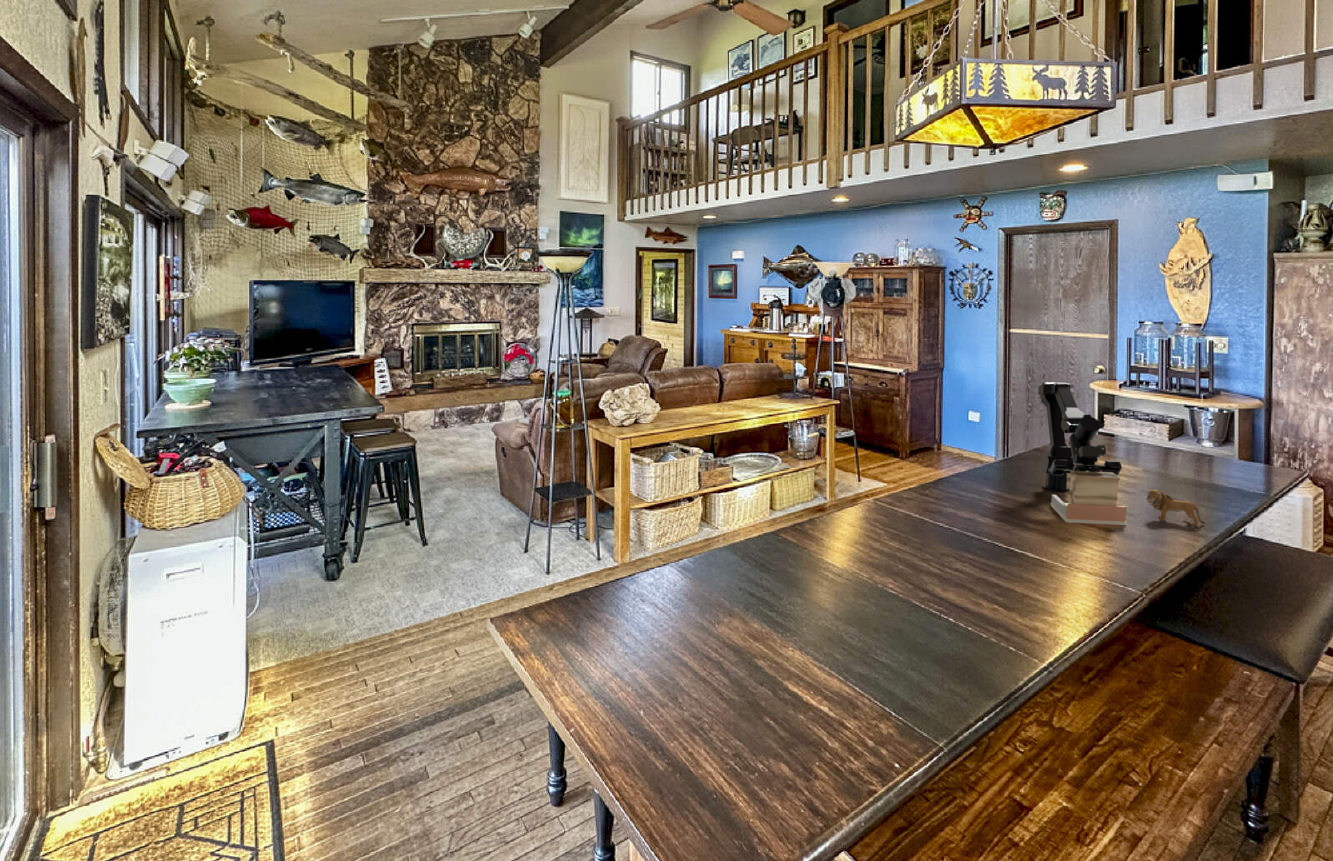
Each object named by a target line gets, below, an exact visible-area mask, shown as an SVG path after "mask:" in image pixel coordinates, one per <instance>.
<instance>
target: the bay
mask: <svg viewBox="0 0 1333 861" xmlns="http://www.w3.org/2000/svg"><path fill="white" fill-rule="evenodd" d="M1050 506H1051V507H1052V508H1053V510H1054V511H1055V512H1056V513H1057V514H1058V515H1059V516H1060V517H1061V518H1062V519H1063V520H1064V522H1065V523H1070V524H1071V523H1072V524H1074V523H1075V524H1076V523H1077V524H1094V525H1095V524H1097V525H1113V526H1115V525H1116V526H1127V524H1128V523H1127V521H1126V518H1127V505H1116V506H1109V505H1085V504H1069V502H1064V501H1063V500H1062V499H1061V498H1060V497H1059V496H1058V495H1057V494H1051V502H1050Z"/></svg>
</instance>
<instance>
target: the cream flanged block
mask: <svg viewBox="0 0 1333 861" xmlns="http://www.w3.org/2000/svg"><path fill="white" fill-rule="evenodd" d="M1069 474H1070V487H1069V489H1070V490H1069V491H1068V492H1069V497H1068V498H1069V500H1068V503H1069V504H1085V505H1109V506H1118V505H1117V502H1118V499H1119V498H1118V493H1119V482H1120V479H1121V477H1119V475H1118V476H1117V475H1115V474H1114V473H1113V472H1087V471H1086V472H1082V471H1071V473H1069Z"/></svg>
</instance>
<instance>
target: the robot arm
mask: <svg viewBox="0 0 1333 861" xmlns="http://www.w3.org/2000/svg"><path fill="white" fill-rule="evenodd" d="M1037 394H1038V395H1039V397H1040V402H1041V403H1042V404H1043V405H1044V406H1045V408H1046V415H1047V424H1048V434H1049V443H1050V445H1049V448H1048V450H1047V452H1046V454H1045V458H1044V460H1043V461H1042V463H1041V472H1044V473H1045V474H1046V476H1045V477H1046V478H1045V484H1044V485H1043V484H1042V485H1041V487H1042V488H1043V489H1046V490H1049V491H1052V492H1062V491H1064V492H1065V491H1070V487H1067V486H1068V474H1070V473H1071V471H1082V472H1113V473H1114V474H1115V475H1117V476H1118V477H1119V474H1120V472H1121V470H1122V469H1123V467H1122V463H1121V462H1120V461H1119V460H1105V461H1104V463H1103V464H1096V463H1097V462H1098V461H1099V460H1098V458H1099V457H1100V456H1103V457H1104V456H1105V455H1106V454H1107V449H1106V445H1105V444H1097V445H1092V443H1091V441H1093V440H1094V438H1096V436H1097V434H1098V433H1099V430H1100V428H1102V427H1101V426H1102V425H1101V422H1100V421H1099V420H1098V419H1097V418H1096V417H1093V416H1092V414H1086V413H1085V412H1083V410H1080V409H1079V408H1078V407H1079V406H1078V404H1077V403H1076V400H1075V398H1074V395H1073V393H1072V391H1071V384H1070V382H1062V381H1059V382H1058V381H1057V382H1056V381H1055V382H1054V381H1053V382H1052V381H1048V382H1044V381H1043V382H1042V383H1041V385H1039V386H1038V389H1037ZM1065 434H1071V435H1070V436H1069V438H1068V439H1069V441H1068V445H1070V446H1068V445H1067V442H1066V435H1065Z"/></svg>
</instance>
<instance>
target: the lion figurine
mask: <svg viewBox="0 0 1333 861" xmlns="http://www.w3.org/2000/svg"><path fill="white" fill-rule="evenodd" d="M1146 501H1147V503H1148V504H1149V505H1150V506H1153V508H1154V510H1157V511H1160V515H1159V516H1158V520H1159V521H1161V522H1164V521H1166V519H1167V518H1166V515H1167V513H1168V512H1171V513H1182V512H1184V513H1185V514H1186V516H1187V518H1184V519H1183V522H1186V523H1187V522H1188V523H1189V521H1190V520H1192V521H1193V522H1192V523H1191V525H1192V526H1193V527H1197V526H1198V525H1199V523H1201V524H1202V525H1205V524H1206V522H1205V521H1204V520H1202V519H1201V515H1200V511H1199V508H1198V507H1197V505H1196V504H1195V503H1194V502H1192V501H1189V500H1176V499H1174V498H1172V497H1171V496H1170V495H1168V494H1166V493H1164V492H1163V491H1161V490H1158V489H1151V490H1149V491H1147V495H1146ZM1195 511H1196V512H1195ZM1195 513H1196V515H1195Z"/></svg>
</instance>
